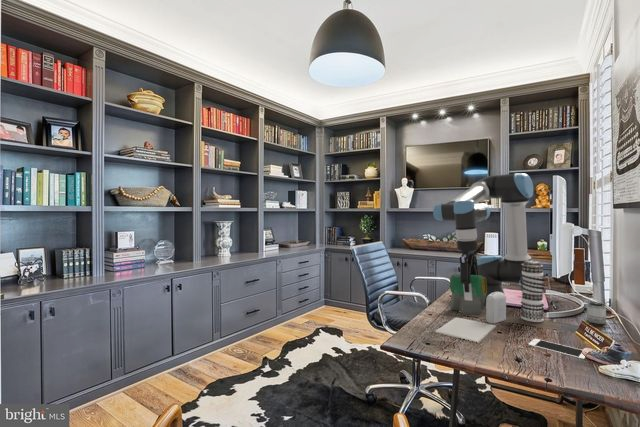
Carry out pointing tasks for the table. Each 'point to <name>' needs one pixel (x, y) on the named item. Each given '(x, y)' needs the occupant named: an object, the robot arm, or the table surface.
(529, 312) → the tower model
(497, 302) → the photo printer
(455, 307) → the grey translucent bin
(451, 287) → the beverage can
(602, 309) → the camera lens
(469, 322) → the desk mat
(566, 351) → the cell phone
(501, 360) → the table surface
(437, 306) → the table surface
